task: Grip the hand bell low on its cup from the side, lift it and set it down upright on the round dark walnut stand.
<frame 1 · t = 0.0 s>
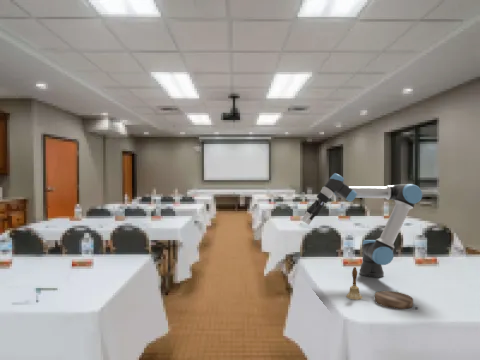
hand: (304, 222, 221), 36 cm above the table, tool tilted 35°, fingers open, 13 cm apart
walnut stand: (393, 302, 180), on the table
hand bell: (354, 297, 188), on the table
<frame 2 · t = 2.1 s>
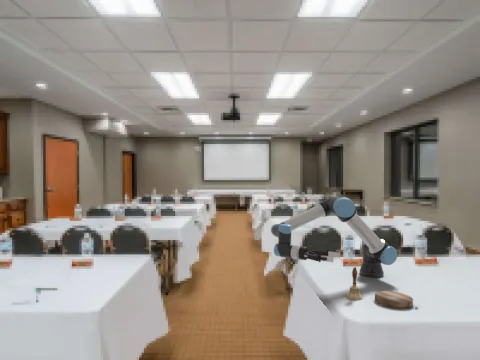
hand: (336, 257, 193), 20 cm above the table, tool horizontal, fingers open, 13 cm apart
nothing on the table moved.
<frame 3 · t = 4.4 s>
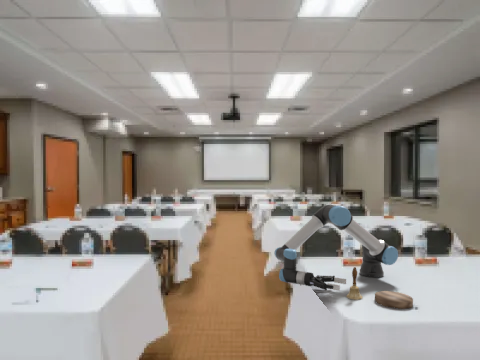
hand: (343, 284, 190), 6 cm above the table, tool horizontal, fingers open, 13 cm apart
nothing on the table moved.
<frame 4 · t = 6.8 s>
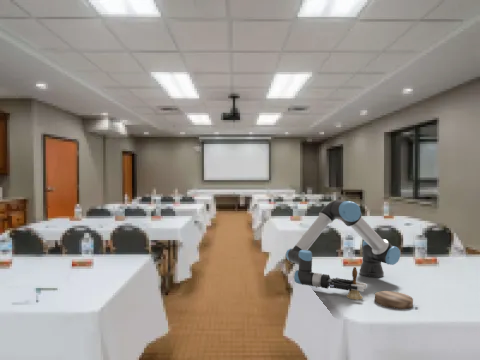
hand: (364, 287, 185), 6 cm above the table, tool horizontal, fingers closed on hand bell, 4 cm apart
hand bell: (354, 297, 188), on the table, touching gripper
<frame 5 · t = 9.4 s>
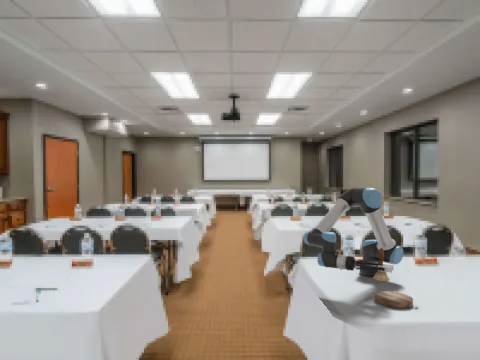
hand: (392, 268, 179), 18 cm above the table, tool horizontal, fingers closed on hand bell, 4 cm apart
hand bell: (381, 279, 182), point 11 cm above the table, touching gripper
when the fingers open (10 cm above the table, at t = 12.2 s): hand bell drops 1 cm, resting on walnut stand.
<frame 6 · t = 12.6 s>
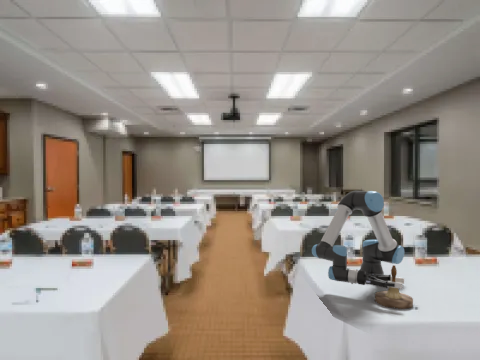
hand: (403, 283, 178), 10 cm above the table, tool horizontal, fingers open, 9 cm apart
hand bell: (393, 297, 180), point 3 cm above the table, touching walnut stand
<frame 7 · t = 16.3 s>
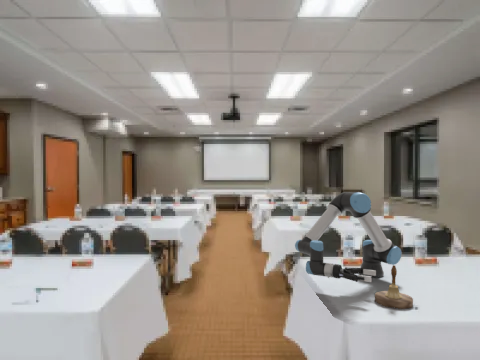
hand: (373, 276, 185), 12 cm above the table, tool horizontal, fingers open, 13 cm apart
nothing on the table moved.
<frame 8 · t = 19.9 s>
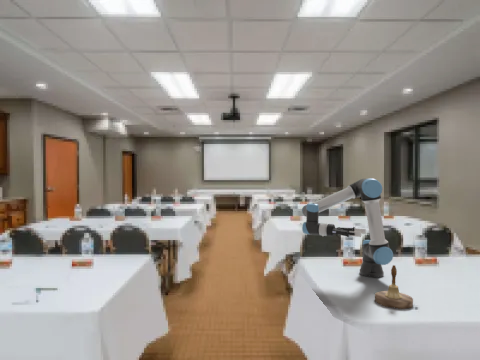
hand: (363, 232, 205), 32 cm above the table, tool horizontal, fingers open, 13 cm apart
nothing on the table moved.
at the end: hand bell inside the target area on the walnut stand (0.0 cm from its centre), point 2.8 cm above the walnut stand's base; hand bell tilted 0°; the gripper is holding nothing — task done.
